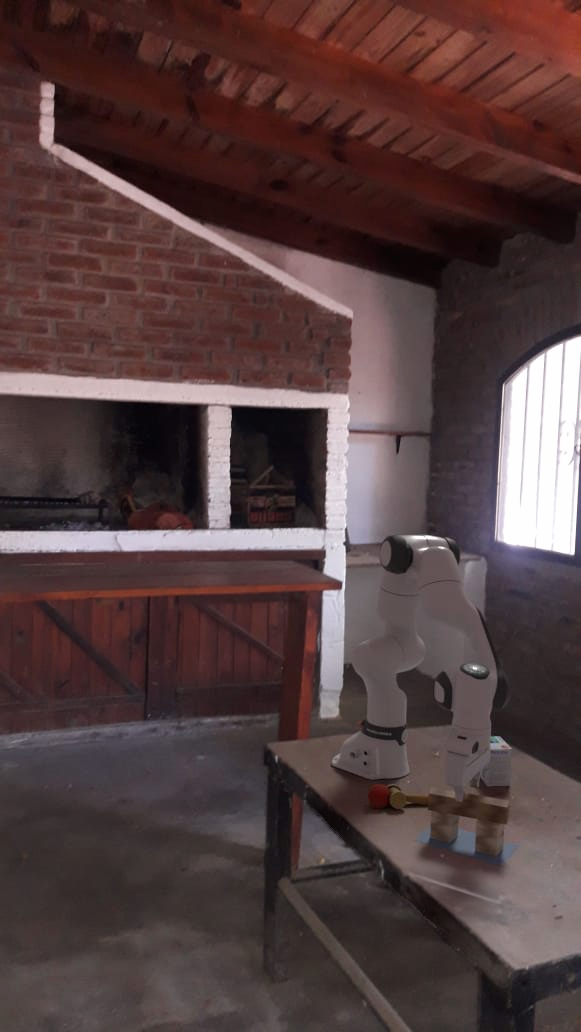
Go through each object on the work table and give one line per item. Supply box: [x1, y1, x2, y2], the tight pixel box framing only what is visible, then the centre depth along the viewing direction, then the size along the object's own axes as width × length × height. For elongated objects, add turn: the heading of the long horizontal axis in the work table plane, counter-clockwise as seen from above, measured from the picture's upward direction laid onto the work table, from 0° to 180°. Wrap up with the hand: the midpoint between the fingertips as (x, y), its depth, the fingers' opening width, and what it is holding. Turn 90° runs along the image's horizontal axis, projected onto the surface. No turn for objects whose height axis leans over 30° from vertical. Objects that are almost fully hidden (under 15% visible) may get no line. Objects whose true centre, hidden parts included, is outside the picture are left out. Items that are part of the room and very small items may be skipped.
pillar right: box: [475, 819, 506, 857], centre depth 191 cm, size 5×5×7 cm
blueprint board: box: [413, 824, 519, 867], centre depth 195 cm, size 21×12×1 cm, turn 58°
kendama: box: [367, 783, 429, 810], centre depth 215 cm, size 8×6×18 cm
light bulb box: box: [480, 735, 513, 788], centre depth 235 cm, size 11×7×11 cm, turn 5°
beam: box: [427, 787, 510, 825], centre depth 194 cm, size 18×4×4 cm, turn 69°
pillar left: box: [430, 810, 460, 843], centre depth 197 cm, size 5×5×7 cm
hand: (467, 793), depth 194 cm, fingers open, 8 cm apart
